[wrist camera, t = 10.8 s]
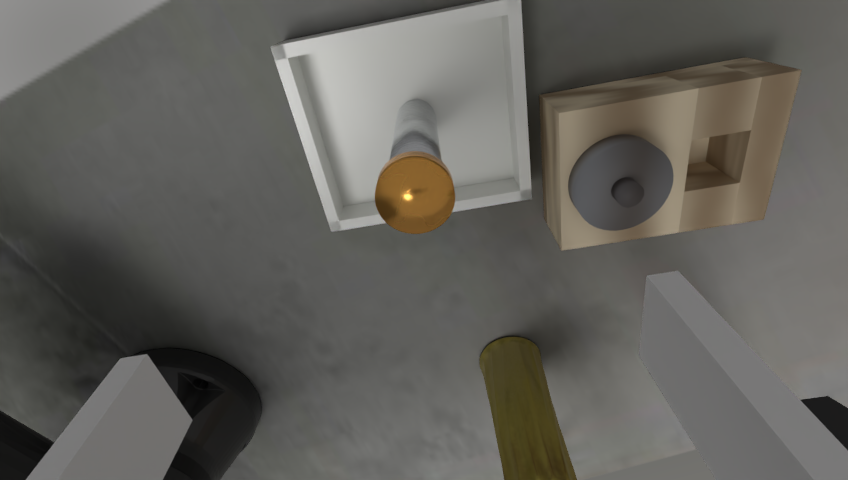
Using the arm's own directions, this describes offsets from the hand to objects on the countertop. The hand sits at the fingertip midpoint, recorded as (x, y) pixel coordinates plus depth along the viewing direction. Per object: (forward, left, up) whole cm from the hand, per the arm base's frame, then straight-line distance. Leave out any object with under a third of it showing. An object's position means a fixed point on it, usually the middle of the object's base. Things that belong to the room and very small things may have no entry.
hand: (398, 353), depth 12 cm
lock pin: (+1, 0, -22) cm, 22 cm away
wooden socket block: (+16, -5, -23) cm, 29 cm away
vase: (+5, -25, -23) cm, 35 cm away
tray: (0, 0, -23) cm, 23 cm away
